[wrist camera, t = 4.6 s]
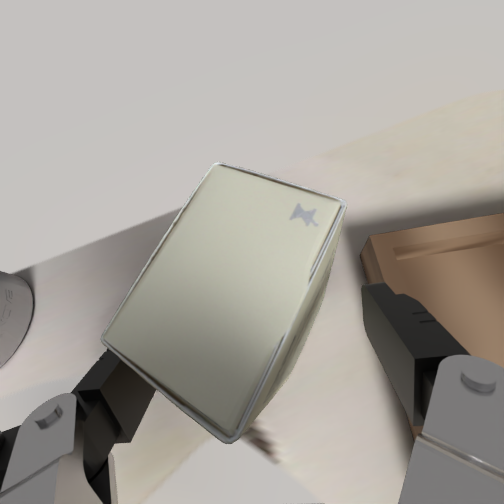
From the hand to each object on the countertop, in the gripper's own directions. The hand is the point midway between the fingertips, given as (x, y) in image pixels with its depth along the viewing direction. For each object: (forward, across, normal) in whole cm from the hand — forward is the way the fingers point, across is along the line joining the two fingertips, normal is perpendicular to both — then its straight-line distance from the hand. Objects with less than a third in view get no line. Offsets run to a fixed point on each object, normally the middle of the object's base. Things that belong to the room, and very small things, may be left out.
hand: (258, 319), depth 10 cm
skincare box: (+6, 0, +5) cm, 8 cm away
